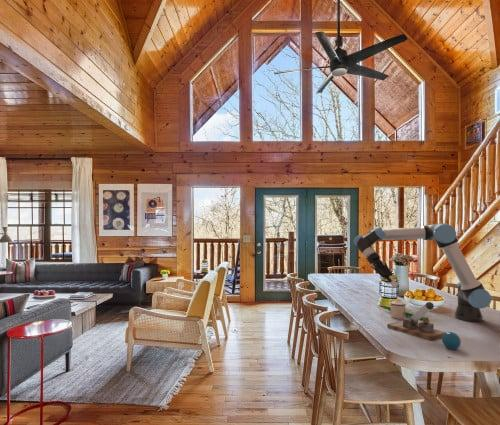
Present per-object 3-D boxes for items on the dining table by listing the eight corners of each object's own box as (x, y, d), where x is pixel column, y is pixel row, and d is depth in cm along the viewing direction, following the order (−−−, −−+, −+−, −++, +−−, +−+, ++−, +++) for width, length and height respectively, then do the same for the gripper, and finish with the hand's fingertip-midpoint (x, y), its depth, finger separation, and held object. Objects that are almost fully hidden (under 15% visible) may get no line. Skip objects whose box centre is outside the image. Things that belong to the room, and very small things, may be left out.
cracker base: (387, 327, 198) (387, 311, 198) (401, 323, 206) (401, 308, 206) (431, 340, 176) (431, 322, 177) (446, 335, 184) (445, 318, 184)
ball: (442, 350, 163) (442, 333, 163) (441, 345, 170) (440, 328, 170) (462, 353, 160) (462, 335, 160) (459, 347, 167) (459, 330, 167)
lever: (404, 320, 194) (427, 300, 184) (409, 319, 197) (431, 300, 186) (409, 326, 192) (432, 307, 181) (413, 325, 194) (436, 306, 183)
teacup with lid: (406, 319, 215) (406, 301, 215) (391, 318, 217) (391, 299, 218) (404, 314, 226) (403, 297, 227) (389, 313, 229) (389, 296, 229)
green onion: (428, 322, 214) (385, 309, 238) (428, 316, 213) (385, 304, 238) (424, 323, 211) (381, 310, 235) (424, 318, 211) (381, 305, 235)
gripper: (374, 259, 222) (398, 288, 208) (361, 260, 215) (385, 291, 201) (381, 251, 218) (406, 281, 203) (368, 252, 211) (392, 283, 196)
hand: (395, 286), depth 202 cm, fingers closed
